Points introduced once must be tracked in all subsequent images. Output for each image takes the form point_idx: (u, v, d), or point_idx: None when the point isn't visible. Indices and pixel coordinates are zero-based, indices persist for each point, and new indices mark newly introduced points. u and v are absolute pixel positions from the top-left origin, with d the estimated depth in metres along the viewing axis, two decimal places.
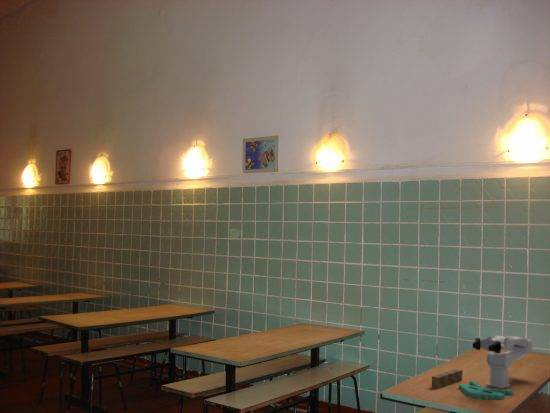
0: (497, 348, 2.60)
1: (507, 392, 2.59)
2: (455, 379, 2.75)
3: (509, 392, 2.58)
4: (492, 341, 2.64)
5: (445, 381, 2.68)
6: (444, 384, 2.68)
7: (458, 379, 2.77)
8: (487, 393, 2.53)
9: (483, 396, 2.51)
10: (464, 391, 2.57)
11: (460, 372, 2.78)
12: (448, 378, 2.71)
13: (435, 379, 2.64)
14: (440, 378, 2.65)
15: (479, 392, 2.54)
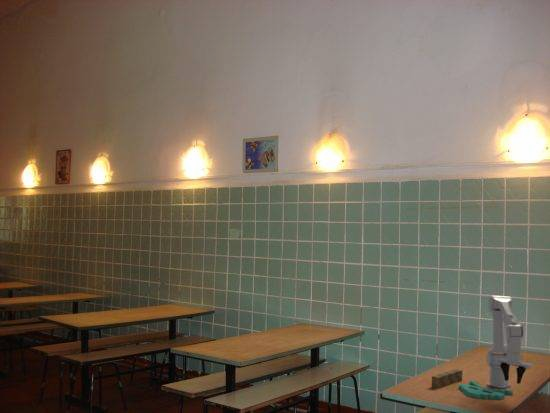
0: None
1: (507, 392, 2.59)
2: (455, 379, 2.75)
3: (509, 392, 2.58)
4: None
5: (445, 381, 2.68)
6: (444, 384, 2.68)
7: (458, 379, 2.77)
8: (487, 393, 2.53)
9: (483, 396, 2.51)
10: (464, 391, 2.57)
11: (460, 372, 2.78)
12: (448, 378, 2.71)
13: (435, 379, 2.64)
14: (440, 378, 2.65)
15: (479, 392, 2.54)
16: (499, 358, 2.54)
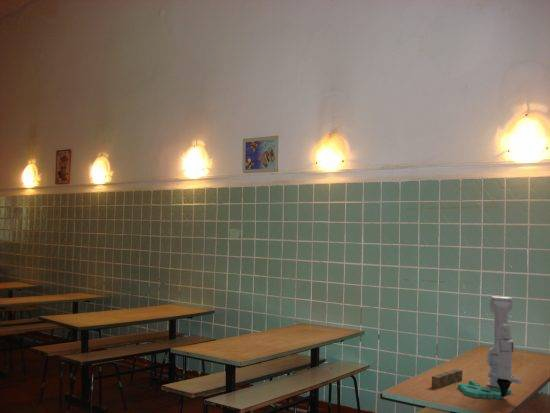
0: None
1: None
2: (455, 379, 2.75)
3: (508, 391, 2.59)
4: None
5: (445, 381, 2.68)
6: (444, 384, 2.68)
7: (458, 379, 2.77)
8: (486, 392, 2.53)
9: (481, 395, 2.52)
10: (463, 390, 2.58)
11: (460, 372, 2.78)
12: (448, 378, 2.71)
13: (435, 379, 2.64)
14: (440, 378, 2.65)
15: (478, 391, 2.54)
16: (490, 372, 2.57)
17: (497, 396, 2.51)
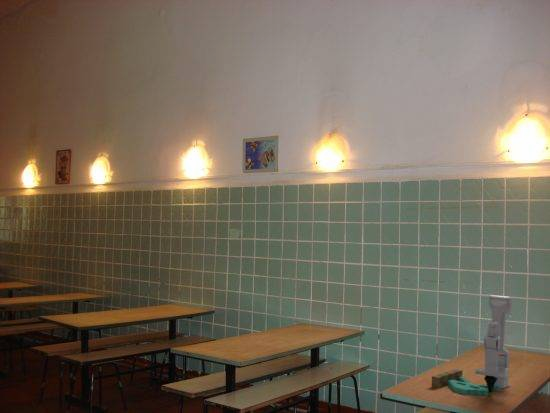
0: None
1: (494, 388, 2.64)
2: (455, 379, 2.75)
3: (496, 388, 2.63)
4: None
5: (445, 381, 2.68)
6: (444, 384, 2.68)
7: (458, 379, 2.77)
8: (474, 388, 2.58)
9: (469, 391, 2.56)
10: (452, 386, 2.63)
11: (460, 372, 2.78)
12: (448, 378, 2.71)
13: (435, 379, 2.64)
14: (440, 378, 2.65)
15: (466, 387, 2.59)
16: (477, 369, 2.61)
17: (485, 392, 2.55)
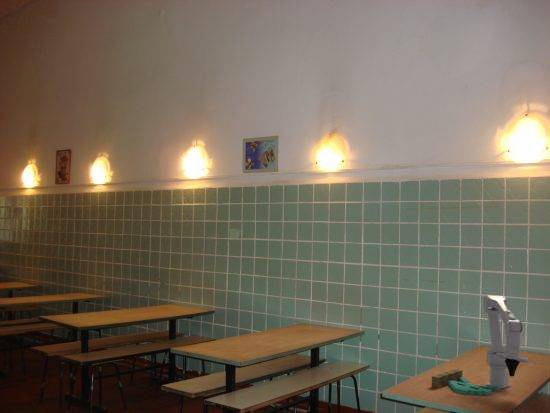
0: None
1: (494, 388, 2.64)
2: (455, 379, 2.75)
3: (496, 388, 2.63)
4: None
5: (445, 381, 2.68)
6: (444, 384, 2.68)
7: (458, 379, 2.77)
8: (474, 389, 2.58)
9: (469, 392, 2.56)
10: (452, 387, 2.63)
11: (460, 372, 2.78)
12: (448, 378, 2.71)
13: (435, 379, 2.64)
14: (440, 378, 2.65)
15: (466, 388, 2.59)
16: (499, 353, 2.61)
17: (485, 393, 2.55)
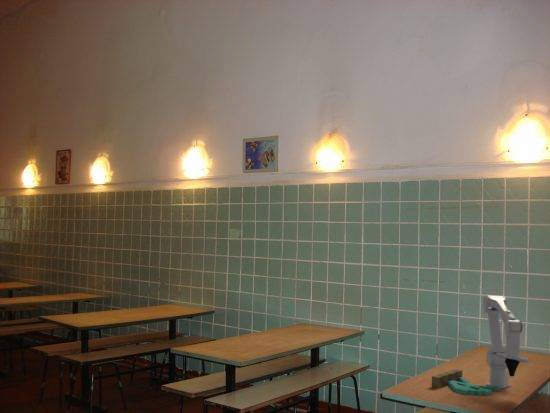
0: None
1: (494, 388, 2.64)
2: (455, 379, 2.75)
3: (496, 388, 2.63)
4: None
5: (445, 381, 2.68)
6: (444, 384, 2.68)
7: (458, 379, 2.77)
8: (474, 389, 2.58)
9: (469, 392, 2.56)
10: (452, 387, 2.63)
11: (460, 372, 2.78)
12: (448, 378, 2.71)
13: (435, 379, 2.64)
14: (440, 378, 2.65)
15: (466, 388, 2.59)
16: (499, 353, 2.61)
17: (485, 393, 2.56)
